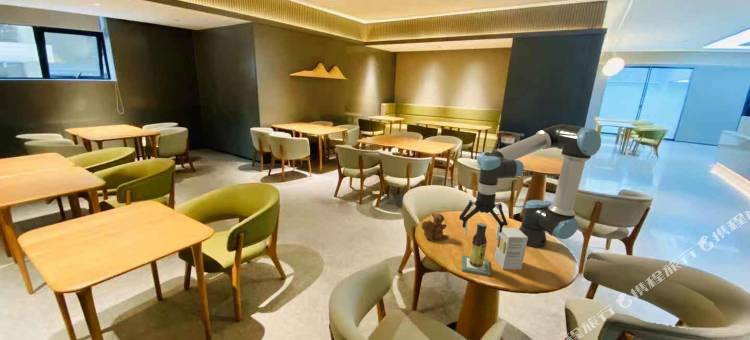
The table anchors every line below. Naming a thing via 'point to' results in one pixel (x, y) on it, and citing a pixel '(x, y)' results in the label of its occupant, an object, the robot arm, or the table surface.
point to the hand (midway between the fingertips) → (480, 236)
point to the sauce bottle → (478, 246)
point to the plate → (477, 270)
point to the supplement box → (510, 248)
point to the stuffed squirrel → (434, 228)
